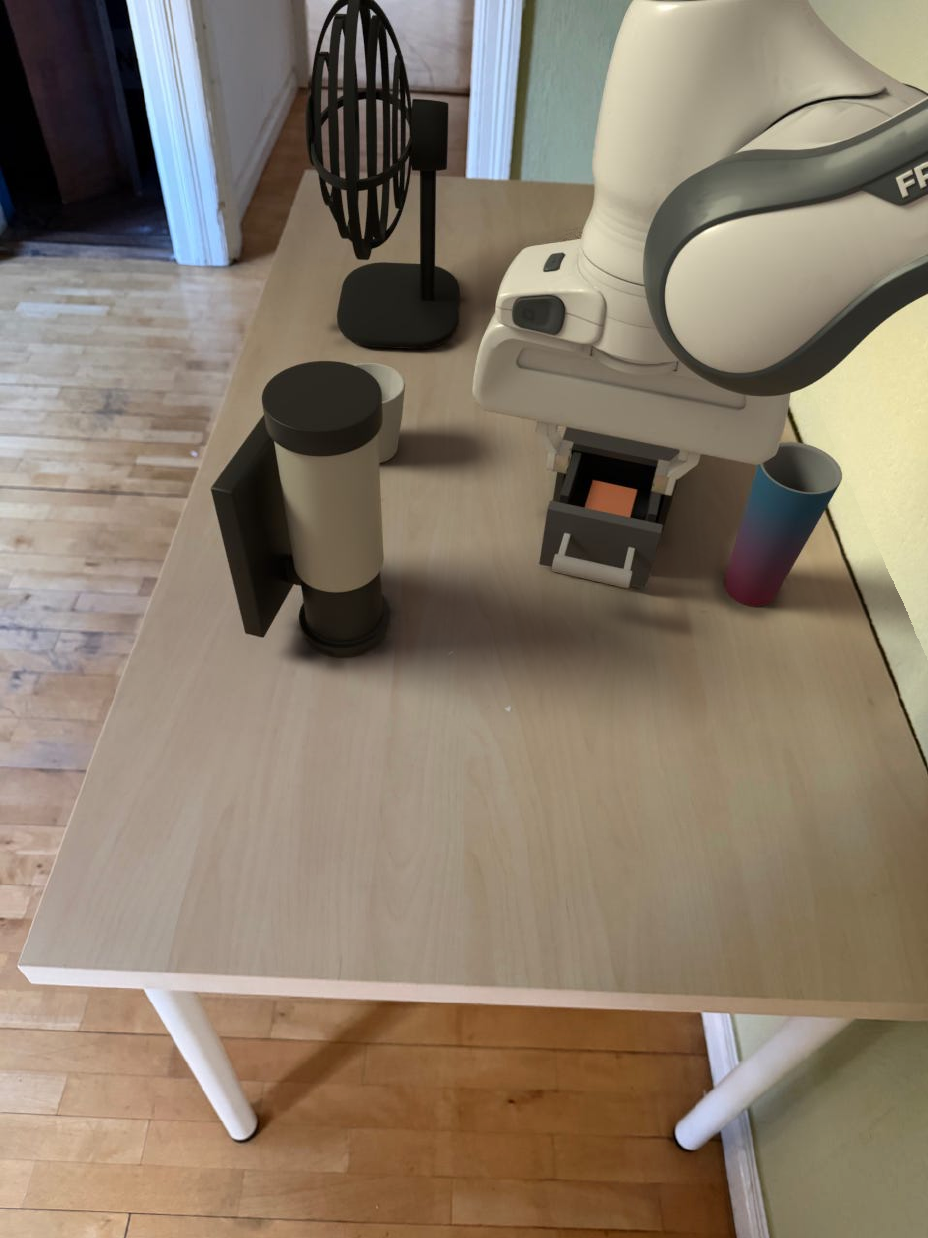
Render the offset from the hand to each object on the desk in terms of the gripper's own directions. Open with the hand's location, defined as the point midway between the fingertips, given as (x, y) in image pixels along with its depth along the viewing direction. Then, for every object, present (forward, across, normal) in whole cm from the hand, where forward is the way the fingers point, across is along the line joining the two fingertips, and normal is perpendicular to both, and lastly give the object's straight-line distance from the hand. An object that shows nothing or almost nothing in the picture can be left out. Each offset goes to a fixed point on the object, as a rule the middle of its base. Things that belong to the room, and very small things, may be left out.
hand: (609, 477), depth 62 cm
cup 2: (+21, -15, -14) cm, 30 cm away
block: (+19, 0, -15) cm, 24 cm away
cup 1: (+21, +28, -22) cm, 42 cm away
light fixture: (+21, +22, +2) cm, 31 cm away
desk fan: (+21, +34, -51) cm, 65 cm away
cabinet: (+21, 0, -26) cm, 33 cm away
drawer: (+20, 0, -14) cm, 25 cm away
